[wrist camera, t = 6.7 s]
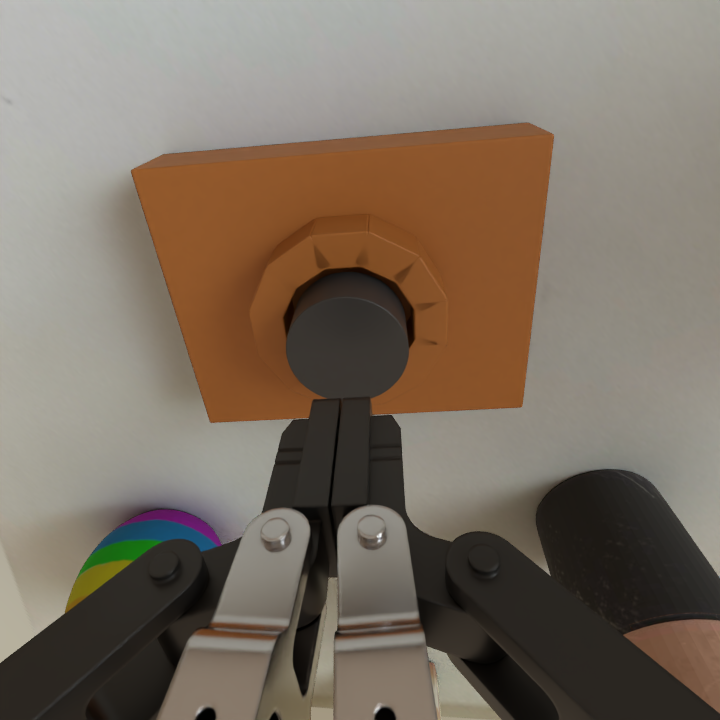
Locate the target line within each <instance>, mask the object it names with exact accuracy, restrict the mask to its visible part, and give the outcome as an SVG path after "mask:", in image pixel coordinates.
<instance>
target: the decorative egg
mask: <svg viewBox="0 0 720 720" xmlns="http://www.w3.org/2000/svg"><path fill="white" fill-rule="evenodd" d="M171 539H186V540H189V541H192V542H193V543H195V544H196V545H197V546H198V547H199V549H200V551H201V552H202V551H205V550H209V549H212V548H215V547H218V546H221V542H220V540H219V538H218V536H217V535H216V533H215V532H214V531H213V529H212V528H211V527H210V526H209V525H208V524H207V523H205V522H204V521H202V520H201V519H199V518H197V517H195V516H193V515H190V514H188V513H185V512H181V511H177V510H166V509H162V510H154V511H149V512H146V513H143V514H140V515H138V516H136V517H134V518H132V519H130V520H128V521H126V522H125V523H123V524H121V525H120V526H119V527H117V528H116V529H115V530H113V531H112V532H111V533H110V534H109V535H108V536H106V537H105V538H104V539H103V540H102V542H101V543H100V544H99V545H98V546H97V547H96V548H95V550H94V551H93V552H92V554H91V555H90V556H89V558H88V559H87V561H86V562H85V564H84V566H83V567H82V569H81V571H80V573H79V575H78V577H77V579H76V581H75V583H74V585H73V588H72V591H71V594H70V596H69V600H68V603H67V606H66V610H65V613H66V612H68V611H69V610H70V609H72V608H73V607H74V606H75V605H77V604H78V603H79V602H81V601H82V600H83V599H85V598H86V597H87V596H88V595H90V594H91V593H92V592H94V591H95V590H96V589H98V588H99V587H100V586H102V585H103V584H104V583H105V582H107V581H108V580H109V579H111V578H112V577H113V576H115V575H116V574H117V573H119V572H120V571H121V570H122V569H124V568H125V567H126V566H128V565H129V564H130V563H132V562H133V561H134V560H136V559H137V558H138V557H139V556H141V555H142V554H143V553H145V552H146V551H147V550H149V549H150V548H152V547H153V546H155V545H157V544H159V543H161V542H164V541H167V540H171Z"/></svg>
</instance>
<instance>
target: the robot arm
mask: <svg viewBox="0 0 720 720" xmlns="http://www.w3.org/2000/svg"><path fill="white" fill-rule="evenodd" d="M328 577H338V626H337V631H336V632H335V636H334V711H333V712H334V713H333V716H334V718H333V720H438V718H437V711H436V705H435V698H434V692H433V685H432V679H431V672H430V666H429V659H428V653H427V646H428V647H431V648H434V649H437V650H439V651H442V652H445V653H447V655H448V657H449V658H450V660H451V662H452V663H453V664H454V665H455V667H456V668H457V669H458V670H459V671H460V672H461V674H462V675H463V676H464V677H465V678H466V679H467V680H468V682H469V683H470V684H471V685H472V686H473V687H474V688H475V690H476V691H477V692H478V693H479V694H480V695H481V696H482V698H483V699H484V700H485V701H486V702H487V703H488V704H489V706H490V707H491V708H492V709H493V710H494V711H495V712H496V714H497V715H498V716H499V717H500V718H501V719H502V720H720V713H719V712H717V711H716V710H715V709H714V708H712V707H711V706H710V705H709V704H707V703H706V702H705V701H704V700H703V699H701V698H700V697H699V696H698V695H696V694H695V693H694V692H693V691H691V690H690V689H689V688H688V687H687V686H685V685H684V684H683V683H682V682H680V681H679V680H678V679H677V678H675V677H674V676H673V675H672V674H671V673H669V672H668V671H667V670H666V669H664V668H663V667H662V666H661V665H659V664H658V663H657V662H656V661H654V660H653V659H652V658H651V657H650V656H648V655H647V654H646V653H645V652H643V651H642V650H641V649H640V648H638V647H637V646H636V645H635V644H634V643H632V642H631V641H630V640H629V639H627V638H626V637H625V636H624V635H622V634H621V633H620V632H619V631H617V630H616V629H615V628H614V627H613V626H611V625H610V624H609V623H608V622H606V621H605V620H604V619H603V618H601V617H600V616H599V615H598V614H597V613H595V612H594V611H593V610H592V609H590V608H589V607H588V606H587V605H585V604H584V603H583V602H582V601H581V600H579V599H578V598H577V597H576V596H574V595H573V594H572V593H571V592H569V591H568V590H567V589H566V588H564V587H563V586H562V585H561V584H560V583H558V582H557V581H556V580H555V579H553V578H552V577H551V576H550V575H548V574H547V573H546V572H545V571H544V570H542V569H541V568H540V567H539V566H537V565H536V564H535V563H534V562H532V561H531V560H530V559H529V558H528V557H526V556H525V555H524V554H523V553H521V552H520V551H519V550H518V549H516V548H515V547H514V546H513V545H511V544H510V543H509V542H508V541H506V540H505V539H503V538H501V537H500V536H498V535H495V534H492V533H488V532H480V531H477V532H469V533H466V534H463V535H461V536H459V537H458V538H456V539H455V540H454V541H453V542H450V541H446V540H443V539H439V538H435V537H432V536H430V535H427V534H425V533H423V532H422V531H421V530H419V529H418V528H417V527H416V526H414V525H413V523H412V522H411V521H410V519H409V517H408V516H407V513H406V509H405V496H404V479H403V462H402V444H401V428H400V427H399V425H398V424H397V422H396V421H395V419H394V418H393V416H392V415H383V416H373V414H372V403H371V396H369V397H349V398H343V399H341V398H331V399H313V401H312V404H311V410H310V415H309V419H299V420H293V421H292V422H291V423H290V425H289V426H288V427H287V428H286V429H285V431H284V432H283V433H282V436H281V440H280V444H279V448H278V452H277V456H276V460H275V465H274V467H273V471H272V475H271V479H270V483H269V487H268V491H267V495H266V499H265V503H264V507H263V511H262V514H260V515H258V516H257V517H256V518H254V519H253V520H252V521H251V522H250V523H249V525H248V526H247V527H246V529H245V531H244V533H243V536H242V537H240V538H239V539H237V540H235V541H233V542H230V543H227V544H224V545H221V546H218V547H215V548H212V549H209V550H205V551H202V552H201V551H200V549H199V547H198V546H197V545H196V544H195V543H193V542H192V541H189V540H186V539H171V540H167V541H164V542H161V543H159V544H157V545H155V546H153V547H152V548H150V549H149V550H147V551H146V552H145V553H143V554H142V555H141V556H139V557H138V558H137V559H136V560H134V561H133V562H132V563H130V564H129V565H128V566H126V567H125V568H124V569H122V570H121V571H120V572H119V573H117V574H116V575H115V576H113V577H112V578H111V579H109V580H108V581H107V582H105V583H104V584H103V585H102V586H100V587H99V588H98V589H96V590H95V591H94V592H92V593H91V594H90V595H88V596H87V597H86V598H85V599H83V600H82V601H81V602H79V603H78V604H77V605H75V606H74V607H73V608H72V609H70V610H69V611H68V612H66V613H65V614H64V615H62V616H61V617H60V618H58V619H57V620H56V621H55V622H53V623H52V624H51V625H49V626H48V627H47V628H45V629H44V630H43V631H41V632H40V633H39V634H38V635H36V636H35V637H34V638H32V639H31V640H30V641H28V642H27V643H26V644H25V645H23V646H22V647H21V648H19V649H18V650H17V651H16V652H14V653H13V654H11V655H10V656H9V657H8V658H6V659H5V660H4V661H2V662H1V663H0V720H311V717H310V716H311V703H312V696H313V690H314V684H315V678H316V672H317V666H318V660H319V654H320V648H321V642H322V637H323V631H324V625H325V619H326V612H327V607H326V598H327V587H328Z"/></svg>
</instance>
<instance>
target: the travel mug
mask: <svg viewBox="0 0 720 720" xmlns="http://www.w3.org/2000/svg"><path fill="white" fill-rule="evenodd" d="M536 525H537V530H538V534H539V537H540V541H541V544H542V548H543V551H544V554H545V558H546V561H547V564H548V568H549V571H550V574H551V577H552V578H553V579H555V580H556V581H557V582H558V583H560V584H561V585H562V586H563V587H564V588H566V589H567V590H568V591H569V592H571V593H572V594H573V595H574V596H576V597H577V598H578V599H579V600H581V601H582V602H583V603H584V604H585V605H587V606H588V607H589V608H590V609H592V610H593V611H594V612H595V613H597V614H598V615H599V616H600V617H601V618H603V619H604V620H605V621H606V622H608V623H609V624H610V625H611V626H613V627H614V628H615V629H616V630H617V631H619V632H620V633H621V634H622V635H624V636H625V637H626V638H627V639H629V640H630V641H631V642H632V643H634V644H635V645H636V646H637V647H638V648H640V649H641V650H642V651H643V652H645V653H646V654H647V655H648V656H650V657H651V658H652V659H653V660H654V661H656V662H657V663H658V664H659V665H661V666H662V667H663V668H664V669H666V670H667V671H668V672H669V673H671V674H672V675H673V676H674V677H675V678H677V679H678V680H679V681H680V682H682V683H683V684H684V685H685V686H687V687H688V688H689V689H690V690H691V691H693V692H694V693H695V694H696V695H698V696H699V697H700V698H701V699H703V700H704V701H705V702H706V703H707V704H709V705H710V706H711V707H712V708H714V709H715V710H716V711H717V712H719V713H720V578H719V576H718V575H717V574H716V572H715V571H714V569H713V568H712V566H711V565H710V564H709V562H708V561H707V559H706V558H705V556H704V555H703V554H702V552H701V551H700V549H699V548H698V546H697V545H696V544H695V542H694V541H693V539H692V538H691V536H690V535H689V534H688V532H687V531H686V529H685V528H684V526H683V525H682V524H681V522H680V521H679V519H678V518H677V516H676V515H675V514H674V512H673V511H672V509H671V508H670V506H669V505H668V504H667V502H666V501H665V500H664V498H663V497H662V495H661V494H660V493H659V491H658V490H657V489H656V488H655V486H654V485H653V484H652V483H651V482H649V481H648V480H647V479H645V478H644V477H642V476H640V475H638V474H635V473H632V472H628V471H622V470H599V471H593V472H588V473H584V474H581V475H578V476H575V477H573V478H571V479H569V480H566V481H565V482H563V483H561V484H559V485H558V486H557V487H555V488H554V489H553V490H552V491H550V492H549V493H548V494H547V495H546V497H545V498H544V499H543V500H542V502H541V503H540V505H539V508H538V510H537V514H536Z"/></svg>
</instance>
